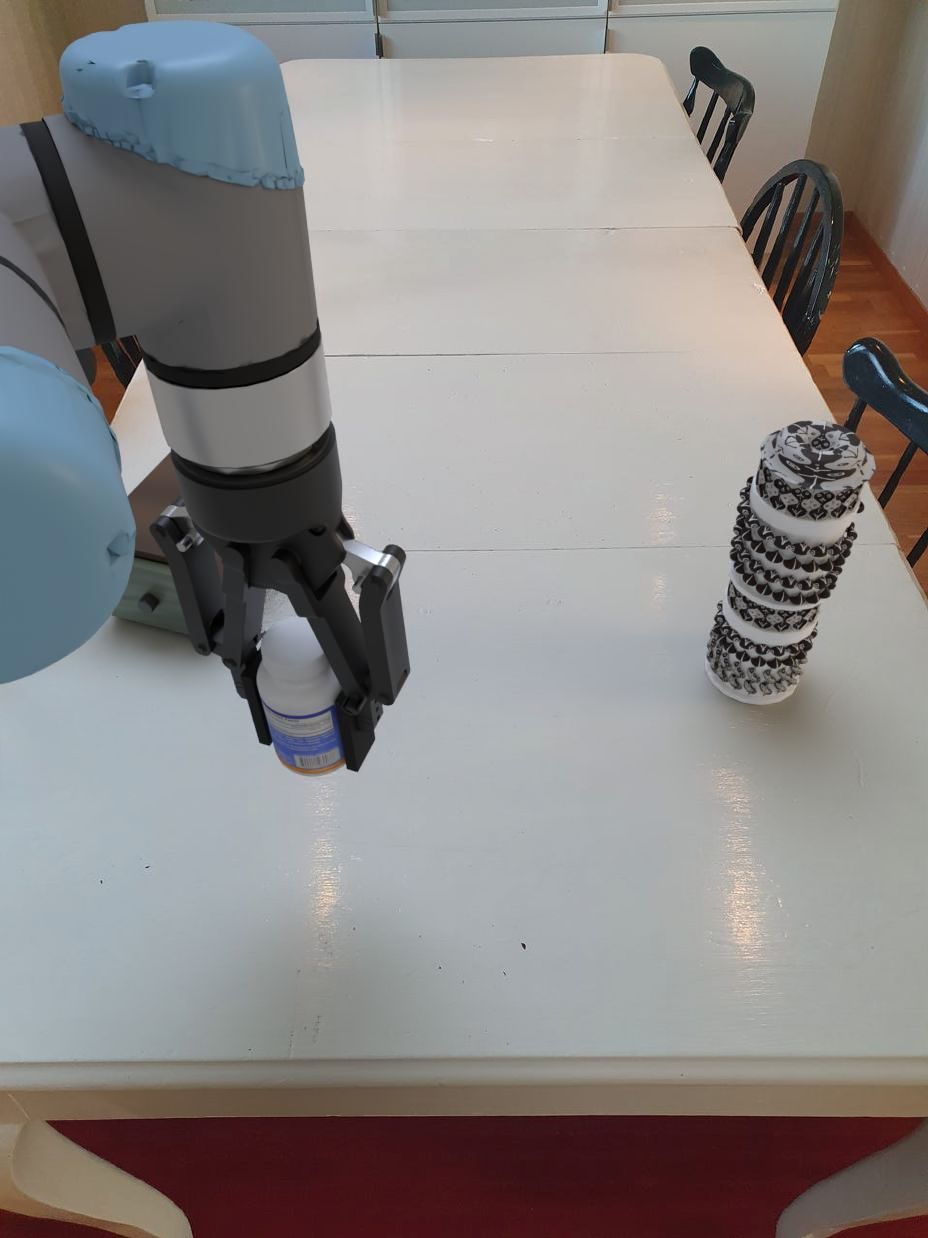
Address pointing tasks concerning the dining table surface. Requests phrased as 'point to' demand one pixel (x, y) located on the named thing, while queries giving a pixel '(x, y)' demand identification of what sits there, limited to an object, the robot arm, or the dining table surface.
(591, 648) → the dining table surface
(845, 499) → the decorative candle
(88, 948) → the dining table surface
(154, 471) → the cabinet
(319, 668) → the pill bottle
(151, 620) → the drawer
